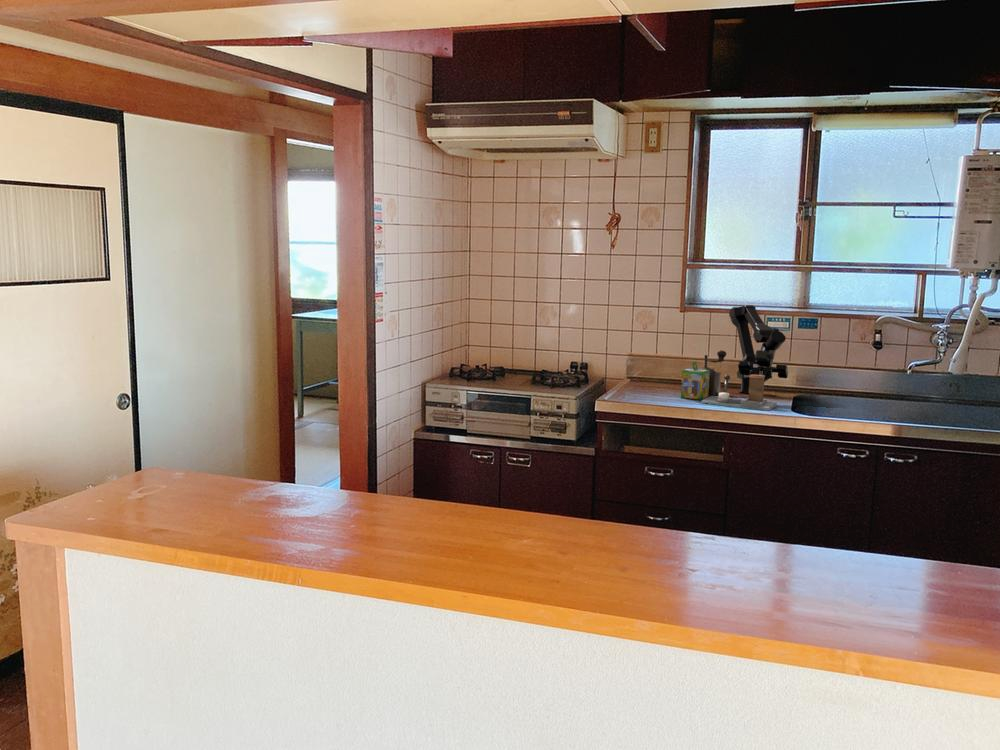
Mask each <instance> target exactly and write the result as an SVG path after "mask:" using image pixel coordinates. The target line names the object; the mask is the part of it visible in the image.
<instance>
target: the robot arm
mask: <svg viewBox="0 0 1000 750" xmlns="http://www.w3.org/2000/svg"><path fill="white" fill-rule="evenodd" d="M728 314H729V318H730V321H731V323H732V324H733V326H735V328H736V330H737V335H738V340H739V345H740V348H741V355H742V359H741V360H740V361H739V362H738V364H737V367H738V370H737V372H736V378H737V379H741V387H740V390H738V393H739V392H744V393H743V394H748V393H749V379H750V377H749V375H751V374H753V375H764V376H765V378H764V383H765V382H767V381H768V380H769V379H773V374H774V373H776V374H777V377H778V378H780V379H788V376H789V369H788V366H787V364H784V363H783V364H781V363H776V365H775V366H773V365H774V359H775V354H776V351H778V350H779V349H781V346H782V345H783V344H784V343H785V342H786V335H785V334H784V333H783V332H782V331H780V330H779V328H772V327H771V326H769V325H767V324H766V323H765V322H764V321H763V320H762V318H761V316H760V315H759V312H757V309H756V306H755V305H750V304H749V305H746V304H745V305H741V306H733V307H732V308H731V309H729V313H728ZM749 325H750V326H751V329H752V330H753V334H752V336H753V339H754V341H755V342H756V343H757V344H759V343H760V344H761V347H760V350H759V349H758V350H757V349H756V351H755V350H754V346H753V341H752V336H751V330H750V326H749Z"/></svg>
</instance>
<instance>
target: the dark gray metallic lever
mask: <svg viewBox="0 0 1000 750" xmlns="http://www.w3.org/2000/svg"><path fill="white" fill-rule="evenodd" d="M730 379H731V376H730V375H729V374H726V375H724V386H723V391H722V392H724V393H727V389H728V383H729V381H730Z"/></svg>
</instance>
